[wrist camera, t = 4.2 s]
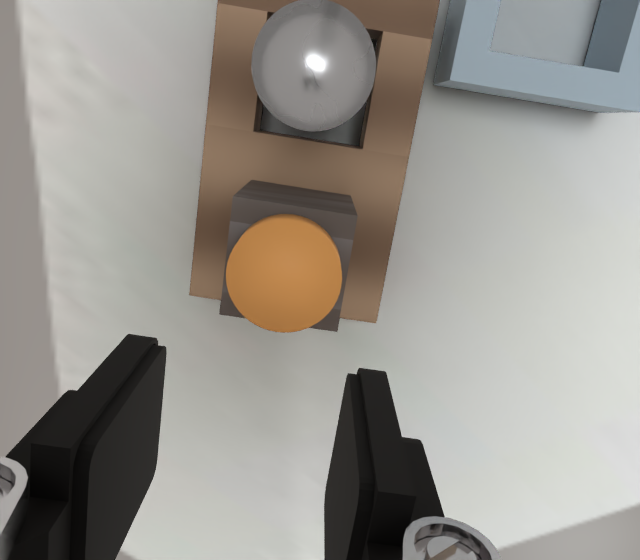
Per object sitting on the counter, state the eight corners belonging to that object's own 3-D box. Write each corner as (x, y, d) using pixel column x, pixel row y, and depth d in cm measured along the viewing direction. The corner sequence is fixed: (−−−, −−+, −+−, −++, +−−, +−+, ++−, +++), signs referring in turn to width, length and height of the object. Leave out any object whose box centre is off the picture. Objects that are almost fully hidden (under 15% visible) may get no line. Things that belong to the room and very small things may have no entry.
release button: (256, 187, 28) (232, 212, 21) (343, 201, 28) (351, 230, 21) (245, 271, 29) (220, 323, 22) (329, 284, 29) (332, 340, 22)
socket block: (232, -25, 28) (191, -88, 20) (428, 9, 29) (474, -37, 20) (201, 279, 33) (157, 338, 24) (371, 305, 33) (388, 372, 24)
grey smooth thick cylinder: (284, 38, 29) (259, -12, 17) (361, 51, 29) (386, 9, 18) (274, 119, 30) (244, 121, 19) (348, 130, 30) (363, 140, 19)
